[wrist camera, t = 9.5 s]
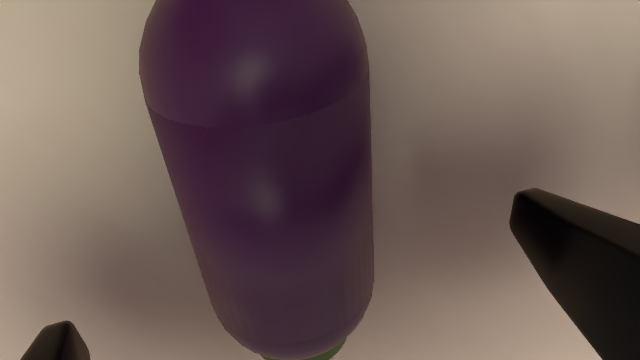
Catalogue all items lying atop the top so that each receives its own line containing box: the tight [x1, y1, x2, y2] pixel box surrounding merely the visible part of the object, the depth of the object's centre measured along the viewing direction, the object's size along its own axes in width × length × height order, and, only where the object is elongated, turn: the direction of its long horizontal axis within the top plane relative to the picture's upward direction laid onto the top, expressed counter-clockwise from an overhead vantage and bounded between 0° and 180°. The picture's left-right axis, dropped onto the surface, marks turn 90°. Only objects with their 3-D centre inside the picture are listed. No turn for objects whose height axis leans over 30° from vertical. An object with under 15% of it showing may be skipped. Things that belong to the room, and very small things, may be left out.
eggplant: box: [139, 0, 374, 360], centre depth 12 cm, size 12×5×5 cm, turn 5°
